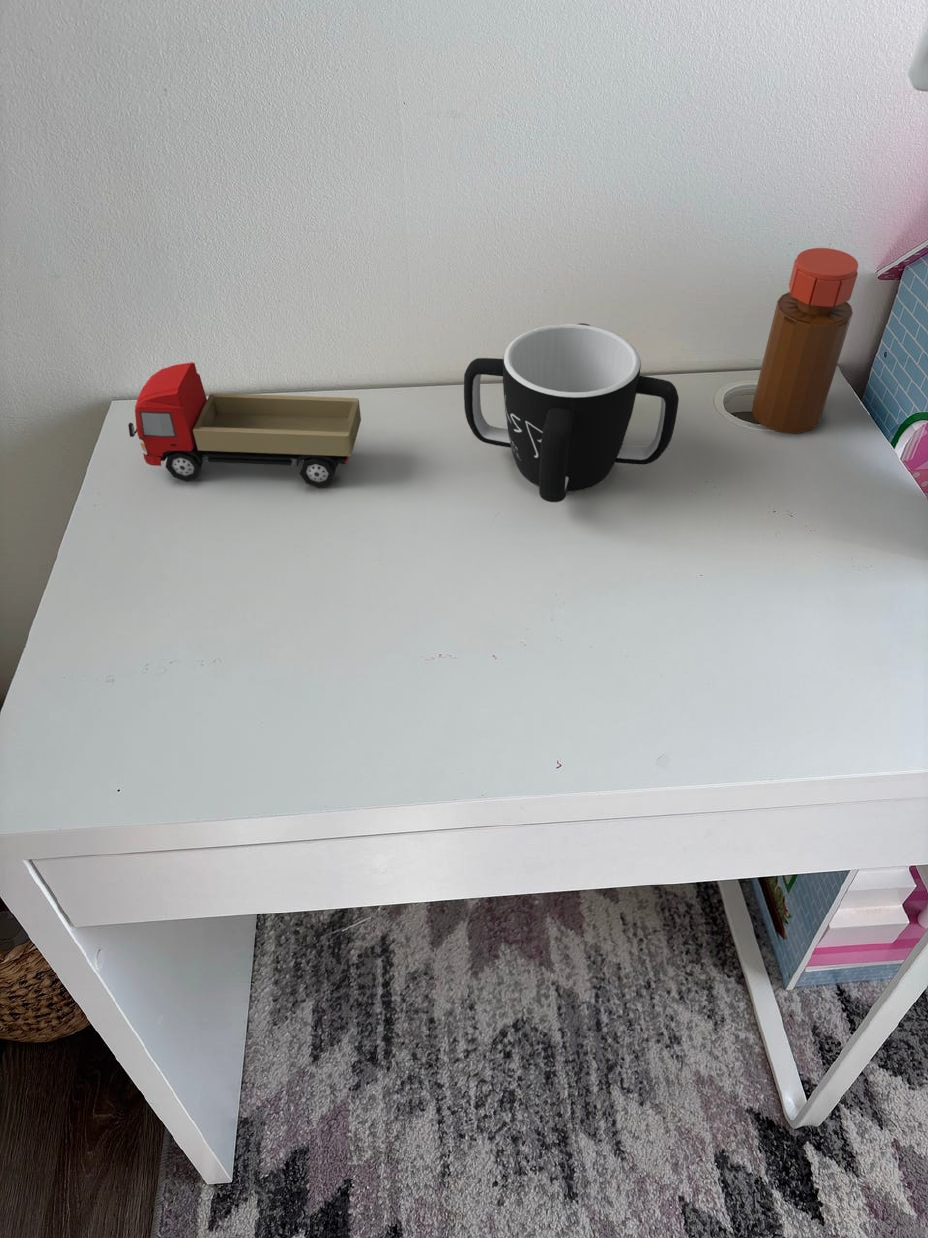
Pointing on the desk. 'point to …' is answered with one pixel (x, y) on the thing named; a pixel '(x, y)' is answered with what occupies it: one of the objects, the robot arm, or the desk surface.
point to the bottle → (799, 364)
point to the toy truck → (241, 427)
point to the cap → (823, 277)
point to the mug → (569, 406)
